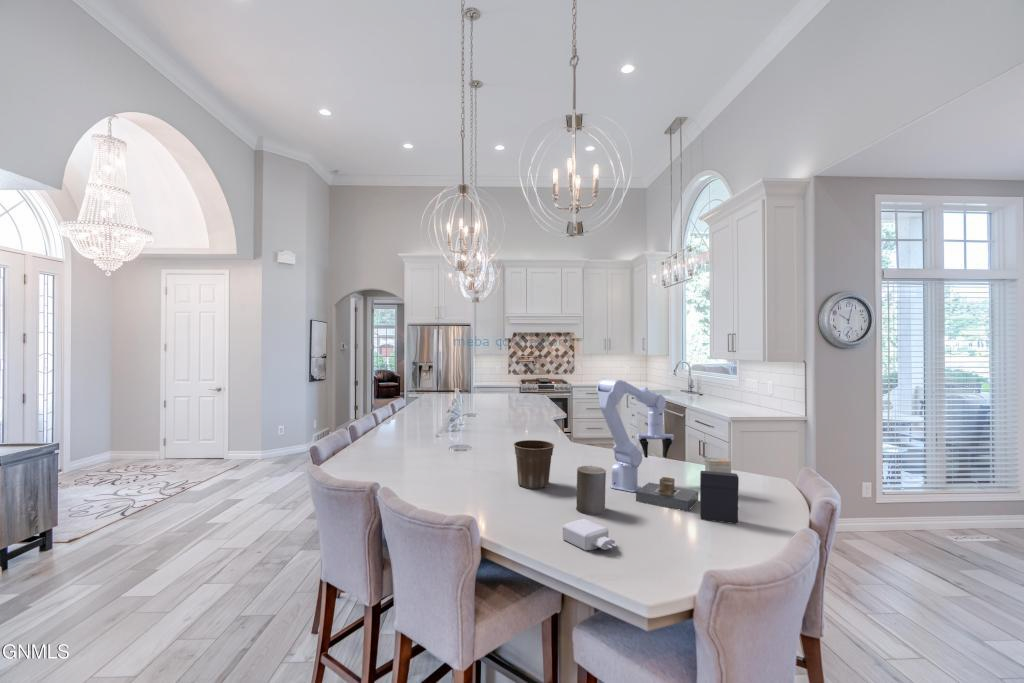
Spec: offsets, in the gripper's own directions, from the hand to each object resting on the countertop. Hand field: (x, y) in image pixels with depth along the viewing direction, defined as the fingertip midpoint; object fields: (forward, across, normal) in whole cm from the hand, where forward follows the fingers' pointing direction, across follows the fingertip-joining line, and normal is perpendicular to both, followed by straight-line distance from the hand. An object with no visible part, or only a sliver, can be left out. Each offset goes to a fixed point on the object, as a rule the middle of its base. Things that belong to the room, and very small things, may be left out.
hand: (655, 457), depth 193 cm
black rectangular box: (+10, +6, -41) cm, 43 cm away
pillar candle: (+10, -33, -32) cm, 47 cm away
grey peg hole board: (+10, -3, -23) cm, 25 cm away
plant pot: (+10, -50, -3) cm, 51 cm away
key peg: (+10, -4, -23) cm, 25 cm away
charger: (+10, -38, -60) cm, 72 cm away
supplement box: (+11, +19, -14) cm, 26 cm away
